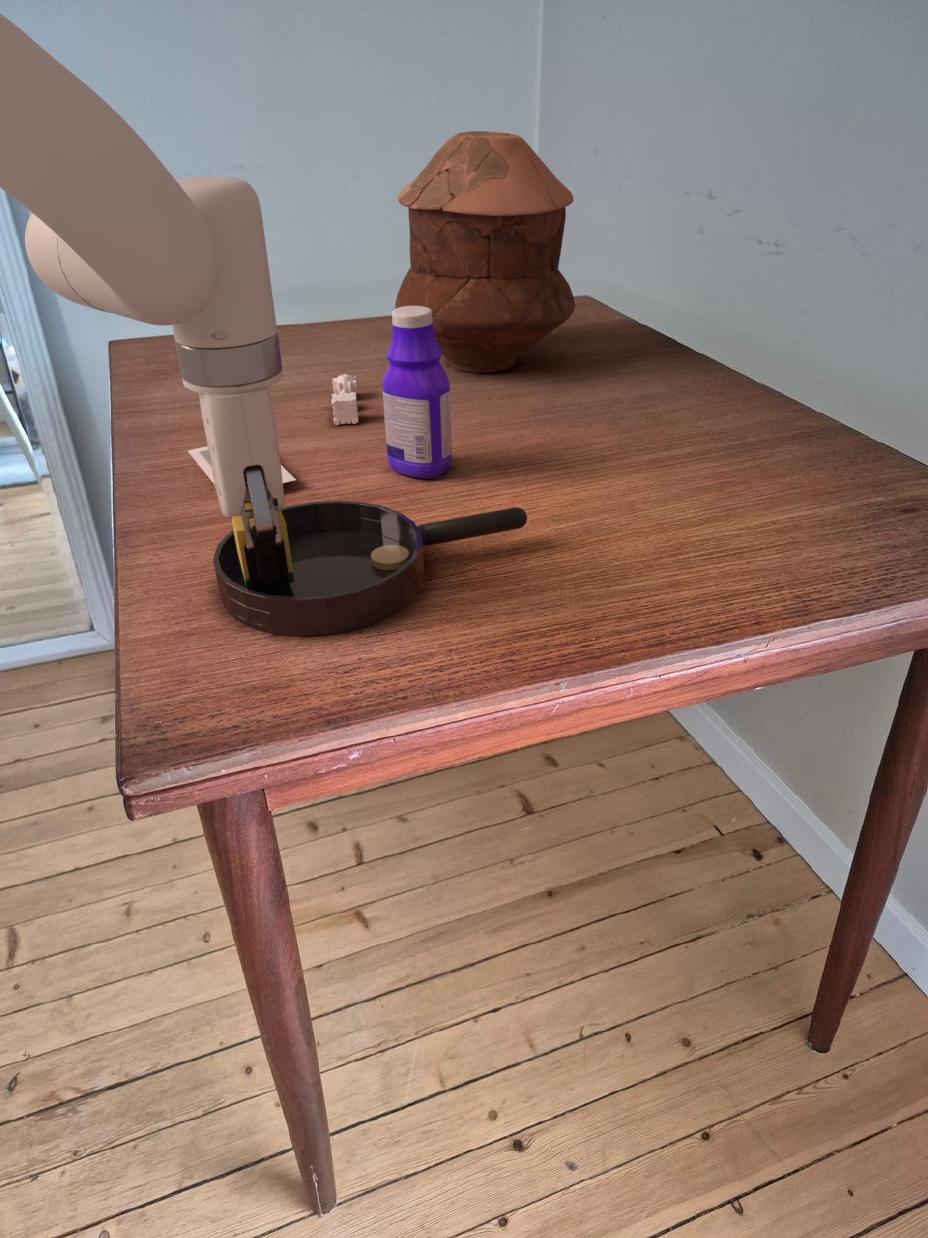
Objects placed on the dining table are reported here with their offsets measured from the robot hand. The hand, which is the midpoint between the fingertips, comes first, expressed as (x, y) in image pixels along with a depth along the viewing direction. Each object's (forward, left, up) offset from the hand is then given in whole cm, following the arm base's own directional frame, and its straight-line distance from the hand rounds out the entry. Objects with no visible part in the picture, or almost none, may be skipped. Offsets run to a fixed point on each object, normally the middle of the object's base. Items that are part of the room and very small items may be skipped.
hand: (265, 567), depth 77 cm
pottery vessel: (+40, +54, -3) cm, 67 cm away
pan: (+5, 0, -2) cm, 5 cm away
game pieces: (+17, +43, -3) cm, 46 cm away
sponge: (0, 0, 0) cm, 0 cm away
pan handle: (+19, 0, -1) cm, 19 cm away
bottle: (+20, +20, -3) cm, 28 cm away
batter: (+11, 0, -2) cm, 11 cm away
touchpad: (+1, +27, -3) cm, 27 cm away
